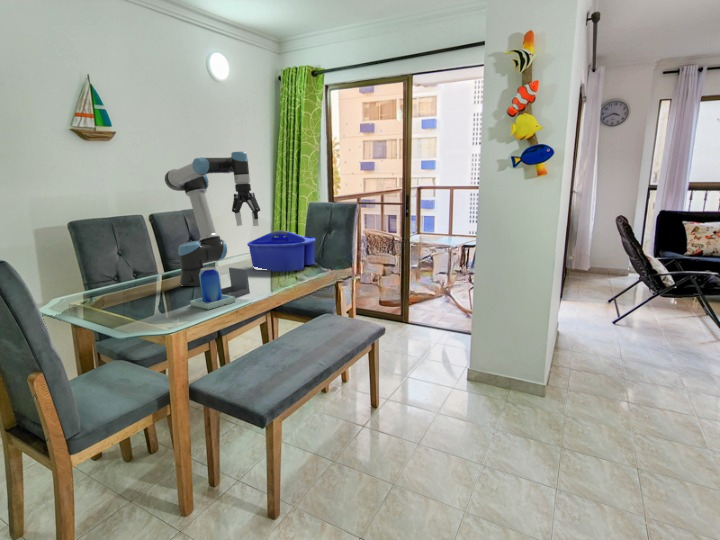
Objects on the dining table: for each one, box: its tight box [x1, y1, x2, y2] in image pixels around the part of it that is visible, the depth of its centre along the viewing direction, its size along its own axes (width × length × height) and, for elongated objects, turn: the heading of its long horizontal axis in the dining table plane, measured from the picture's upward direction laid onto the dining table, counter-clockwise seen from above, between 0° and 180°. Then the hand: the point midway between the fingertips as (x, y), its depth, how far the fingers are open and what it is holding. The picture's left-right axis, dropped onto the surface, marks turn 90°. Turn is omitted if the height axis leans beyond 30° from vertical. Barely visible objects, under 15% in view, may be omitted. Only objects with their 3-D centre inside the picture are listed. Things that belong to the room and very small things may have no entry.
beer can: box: [199, 266, 222, 304], centre depth 194 cm, size 8×8×16 cm
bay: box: [221, 267, 251, 298], centre depth 211 cm, size 13×11×12 cm
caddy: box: [246, 229, 316, 272], centre depth 274 cm, size 32×45×23 cm
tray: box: [189, 294, 236, 311], centre depth 196 cm, size 14×14×2 cm
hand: (247, 225), depth 221 cm, fingers open, 13 cm apart
